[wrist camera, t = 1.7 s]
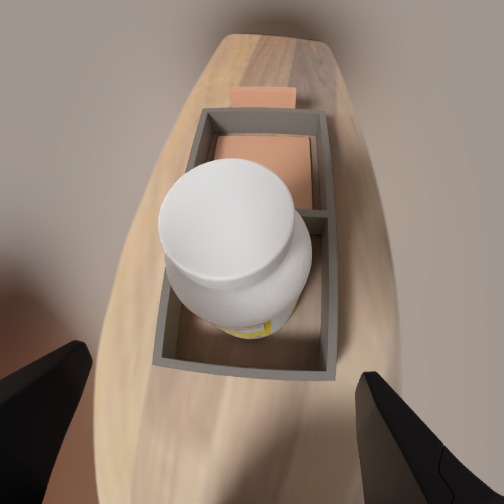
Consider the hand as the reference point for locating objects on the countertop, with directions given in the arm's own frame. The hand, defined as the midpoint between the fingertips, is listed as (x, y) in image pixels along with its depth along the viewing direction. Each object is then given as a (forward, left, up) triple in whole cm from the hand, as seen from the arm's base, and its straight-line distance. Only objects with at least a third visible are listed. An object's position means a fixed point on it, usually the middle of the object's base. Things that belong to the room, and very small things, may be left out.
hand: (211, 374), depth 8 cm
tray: (+10, -5, -12) cm, 16 cm away
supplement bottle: (+5, -2, -13) cm, 14 cm away
